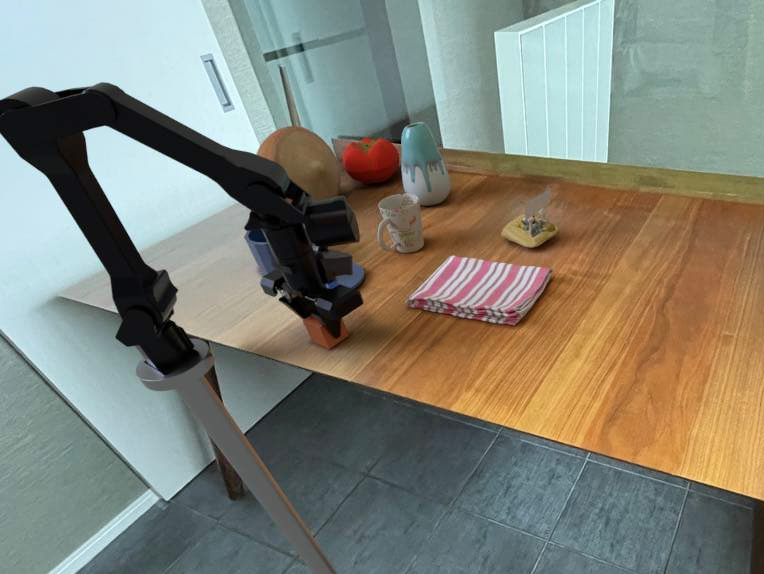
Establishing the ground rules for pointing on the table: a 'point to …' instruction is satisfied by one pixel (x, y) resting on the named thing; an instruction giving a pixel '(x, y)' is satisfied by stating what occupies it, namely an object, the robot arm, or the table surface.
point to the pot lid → (349, 278)
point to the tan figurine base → (531, 224)
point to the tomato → (371, 160)
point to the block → (323, 332)
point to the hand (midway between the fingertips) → (328, 333)
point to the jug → (304, 160)
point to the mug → (401, 223)
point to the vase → (423, 166)
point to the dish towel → (481, 290)
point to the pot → (261, 250)
